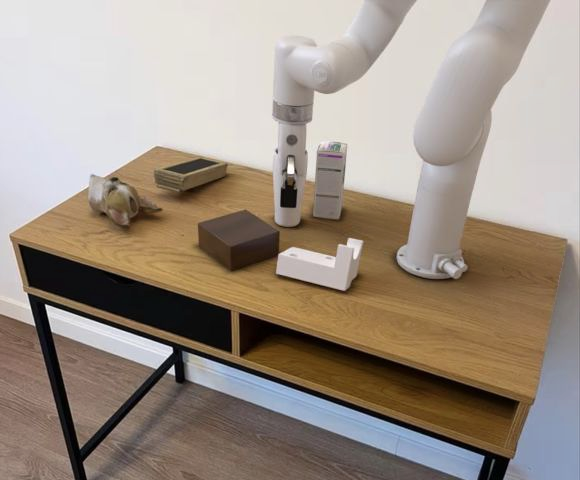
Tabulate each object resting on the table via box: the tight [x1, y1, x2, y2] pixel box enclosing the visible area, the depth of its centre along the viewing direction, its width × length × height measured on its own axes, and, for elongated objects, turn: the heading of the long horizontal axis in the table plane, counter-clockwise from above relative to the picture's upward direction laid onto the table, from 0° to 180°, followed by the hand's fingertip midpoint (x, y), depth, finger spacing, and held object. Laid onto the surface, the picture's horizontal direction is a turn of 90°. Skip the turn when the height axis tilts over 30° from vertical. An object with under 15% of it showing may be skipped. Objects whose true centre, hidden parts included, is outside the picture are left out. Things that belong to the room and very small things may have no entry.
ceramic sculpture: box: [87, 173, 164, 228], centre depth 127 cm, size 11×9×15 cm
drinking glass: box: [272, 146, 309, 228], centre depth 127 cm, size 7×7×15 cm
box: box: [153, 155, 229, 194], centre depth 144 cm, size 8×22×5 cm, turn 157°
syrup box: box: [312, 140, 348, 220], centre depth 132 cm, size 6×6×14 cm
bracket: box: [275, 237, 364, 292], centre depth 113 cm, size 13×7×8 cm, turn 68°
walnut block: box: [197, 208, 281, 272], centre depth 120 cm, size 11×11×5 cm
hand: (287, 196), depth 128 cm, fingers open, 9 cm apart
